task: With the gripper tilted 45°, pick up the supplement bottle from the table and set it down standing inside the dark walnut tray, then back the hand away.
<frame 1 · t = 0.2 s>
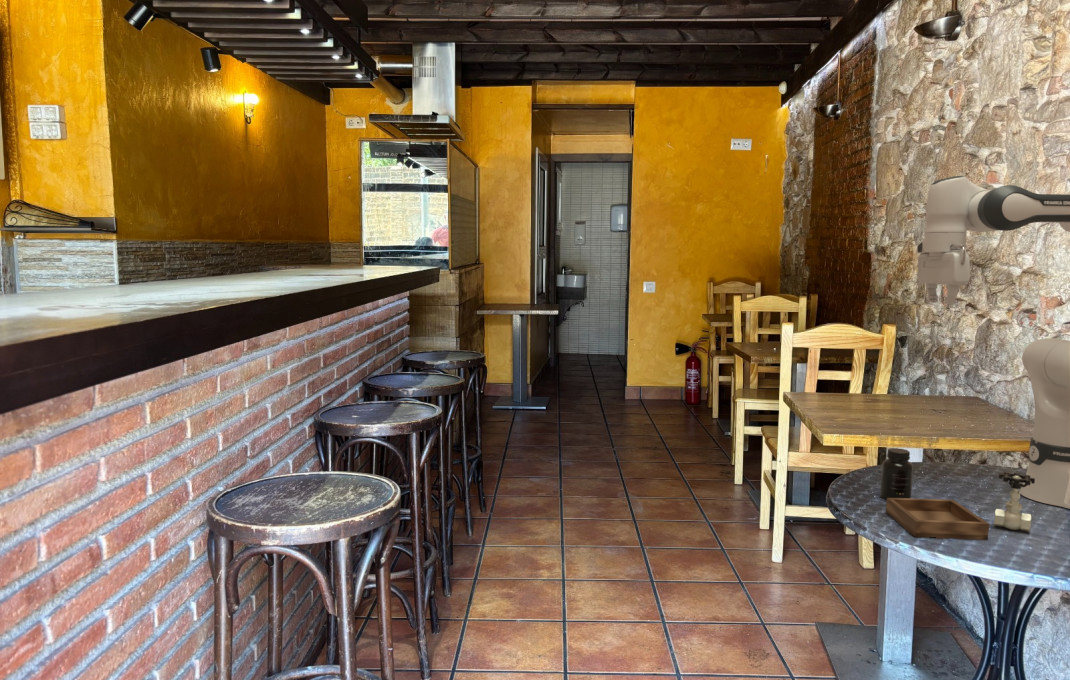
hand: (941, 303, 183), 47 cm above the table, tool pointing down, fingers open, 8 cm apart
supplement bottle: (895, 499, 186), on the table
valve: (1011, 530, 167), on the table
walnut tray: (934, 525, 168), on the table
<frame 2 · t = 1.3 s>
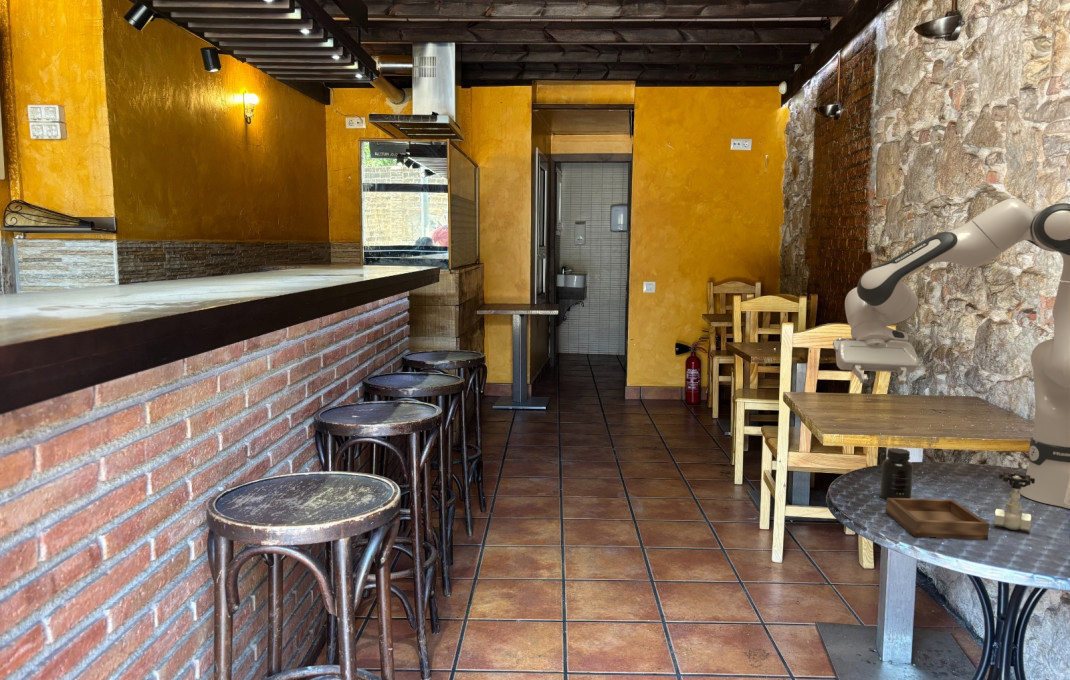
hand: (882, 382, 194), 26 cm above the table, tool tilted 45°, fingers open, 8 cm apart
nothing on the table moved.
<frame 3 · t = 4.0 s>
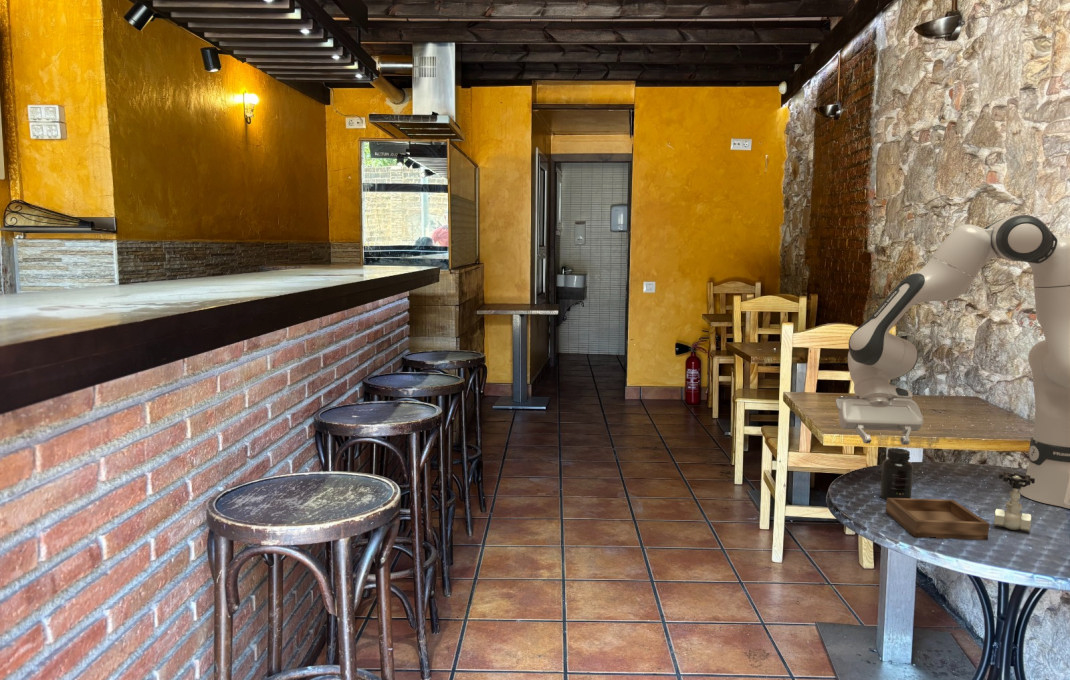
hand: (886, 443, 191), 12 cm above the table, tool tilted 45°, fingers open, 8 cm apart
nothing on the table moved.
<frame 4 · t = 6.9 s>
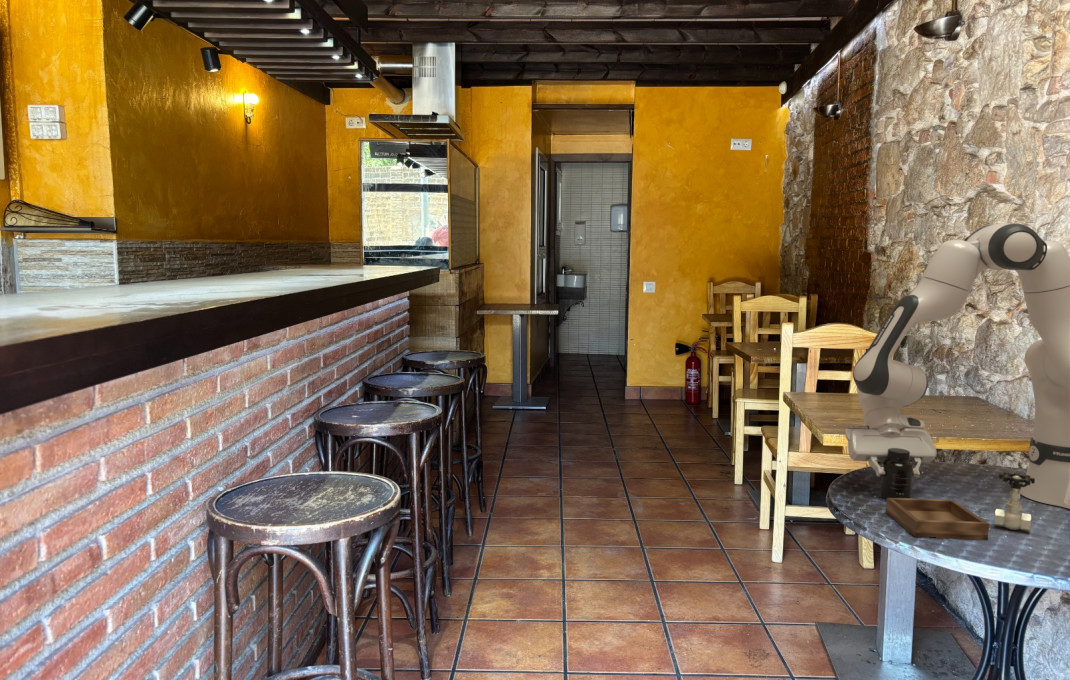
hand: (898, 475, 184), 6 cm above the table, tool tilted 45°, fingers closed on supplement bottle, 7 cm apart
supplement bottle: (895, 499, 186), on the table, touching gripper
everything else where it was.
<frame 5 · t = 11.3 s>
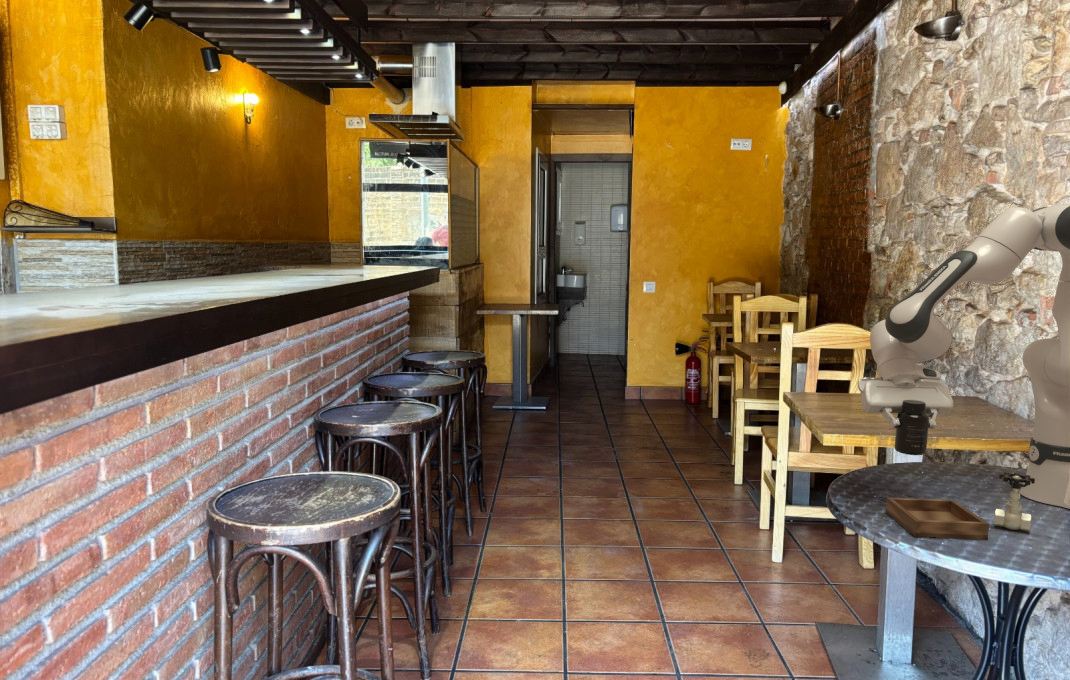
hand: (914, 427, 177), 19 cm above the table, tool tilted 45°, fingers closed on supplement bottle, 7 cm apart
supplement bottle: (909, 452, 179), point 13 cm above the table, touching gripper
everything else where it was.
when the fingers open (8 cm above the table, at t = 15.5 s): supplement bottle drops 1 cm, resting on walnut tray.
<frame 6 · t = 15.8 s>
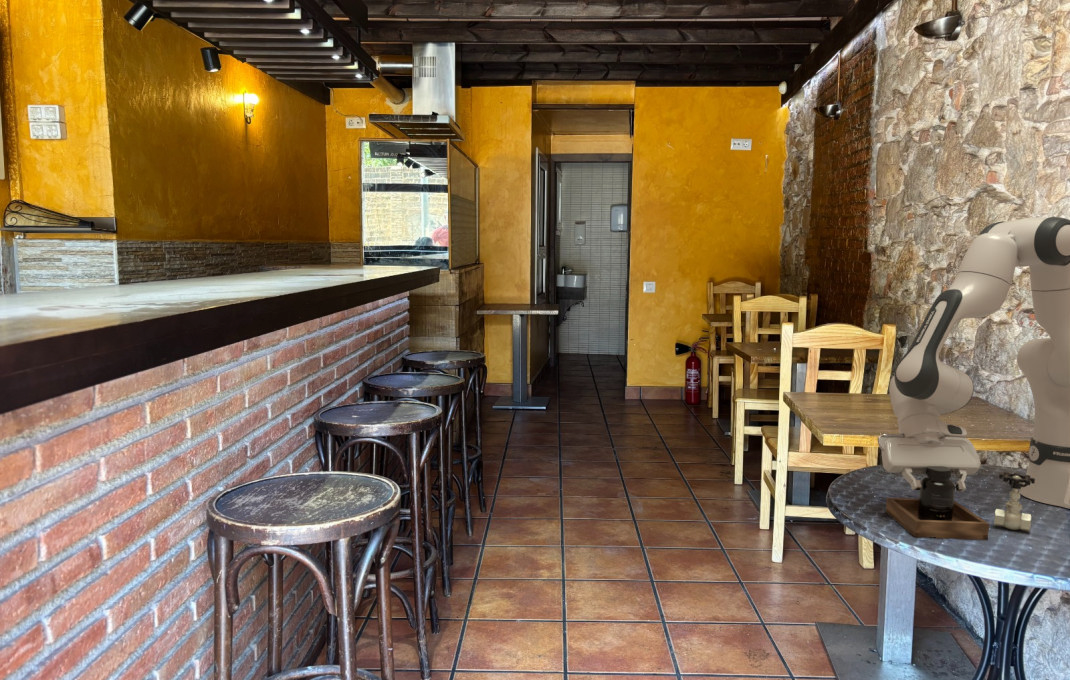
hand: (939, 489, 166), 8 cm above the table, tool tilted 45°, fingers open, 8 cm apart
supplement bottle: (934, 521, 168), point 1 cm above the table, touching walnut tray
everything else where it was.
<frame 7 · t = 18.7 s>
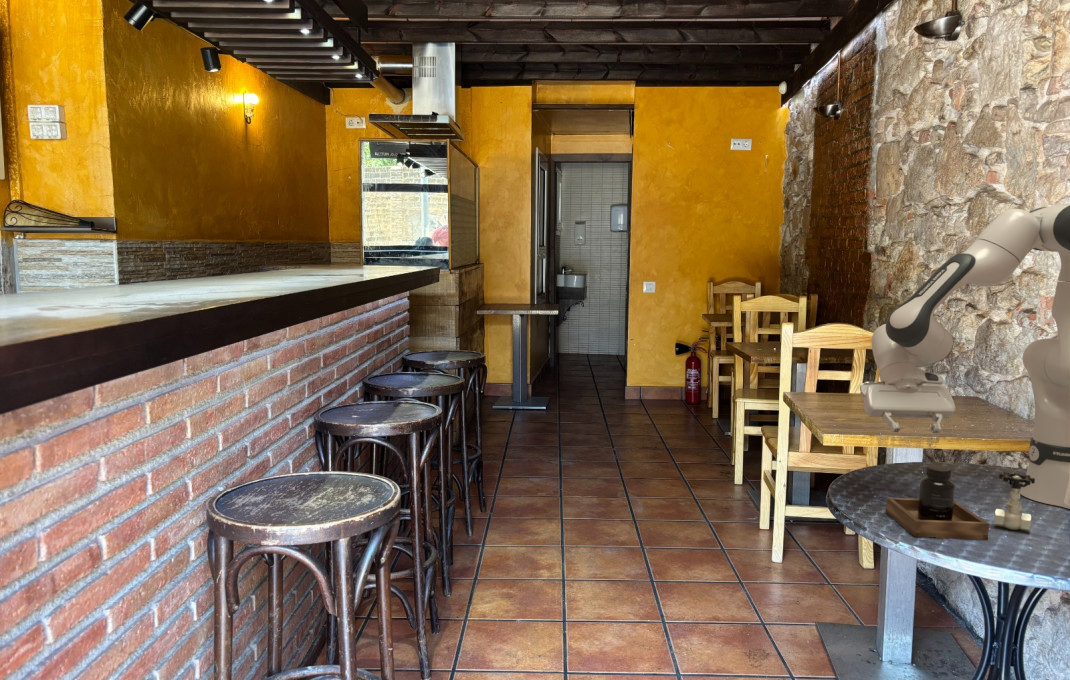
hand: (916, 431, 178), 18 cm above the table, tool tilted 45°, fingers open, 8 cm apart
nothing on the table moved.
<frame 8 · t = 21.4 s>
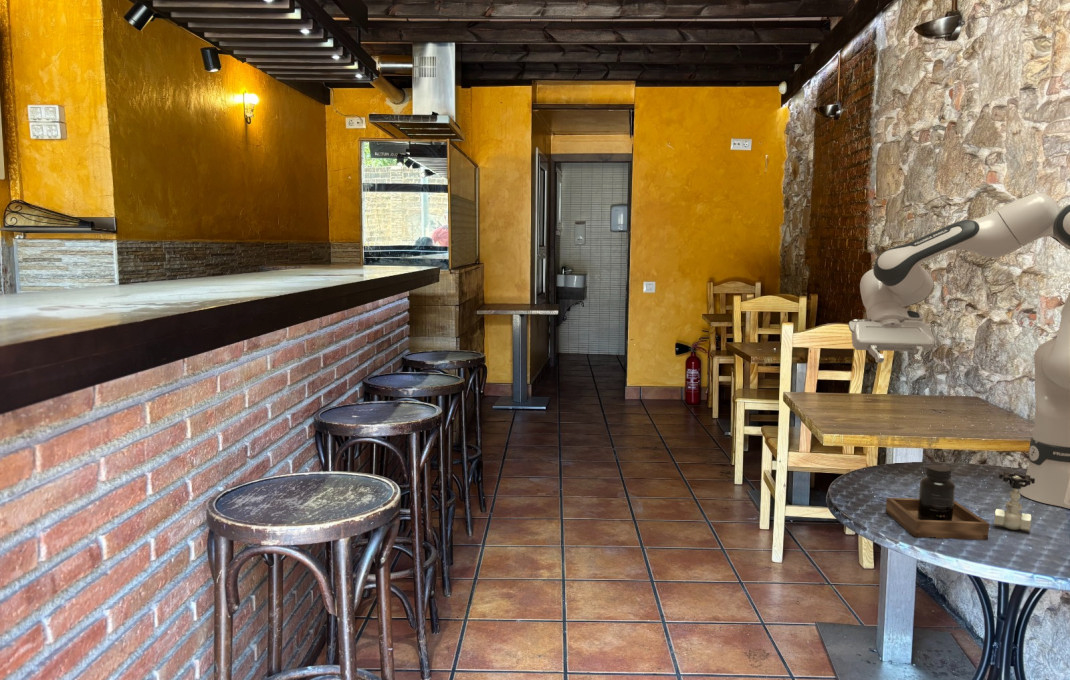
hand: (898, 361, 197), 31 cm above the table, tool tilted 45°, fingers open, 8 cm apart
nothing on the table moved.
at the end: supplement bottle inside the target area on the walnut tray (0.3 cm from its centre), point 0.8 cm above the walnut tray's base; supplement bottle tilted 0°; the gripper is holding nothing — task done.
